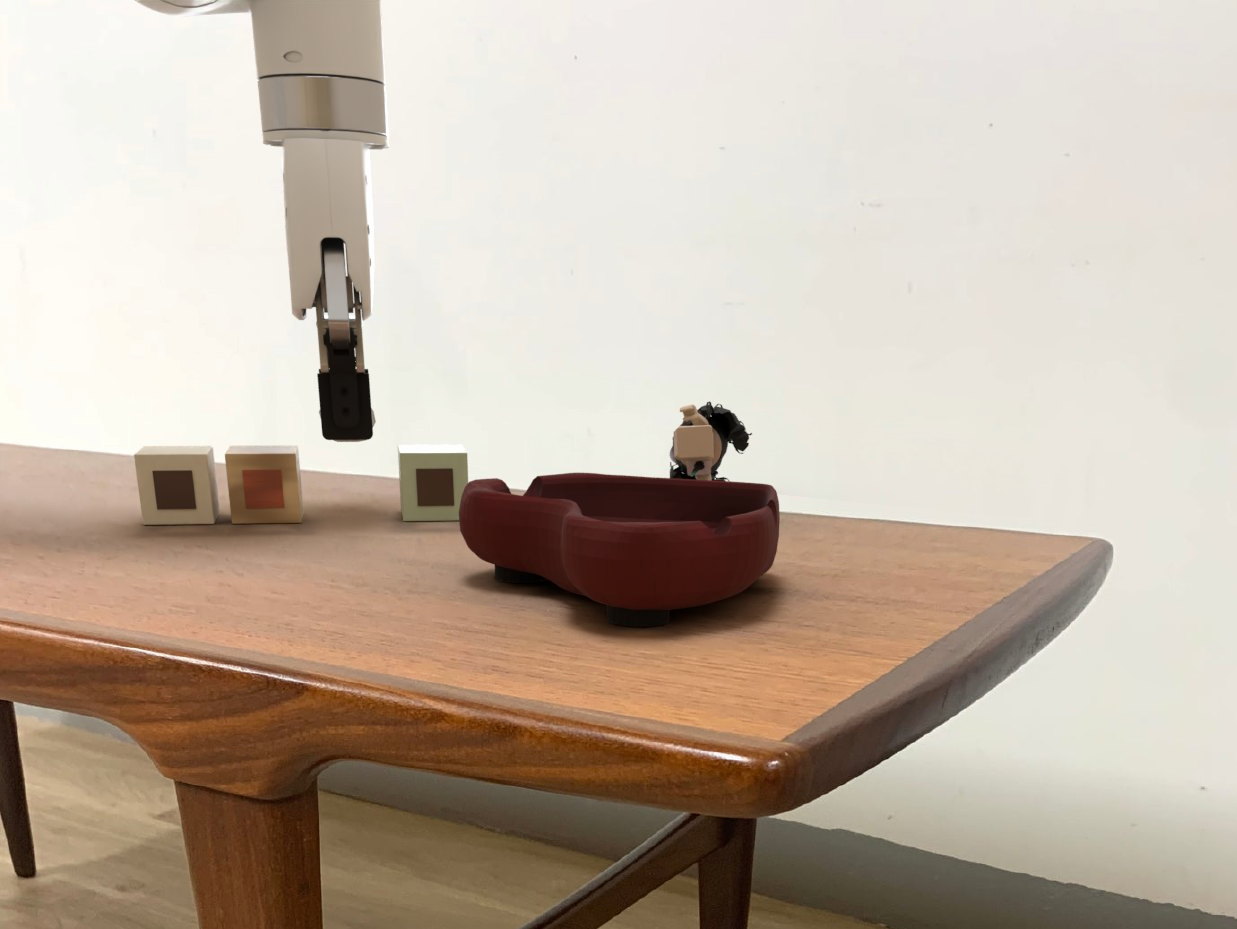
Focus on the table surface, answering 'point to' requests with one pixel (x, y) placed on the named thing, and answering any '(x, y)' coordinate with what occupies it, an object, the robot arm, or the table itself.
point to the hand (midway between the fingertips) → (347, 432)
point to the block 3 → (432, 481)
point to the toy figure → (705, 441)
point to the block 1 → (177, 485)
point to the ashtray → (626, 538)
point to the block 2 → (264, 484)
